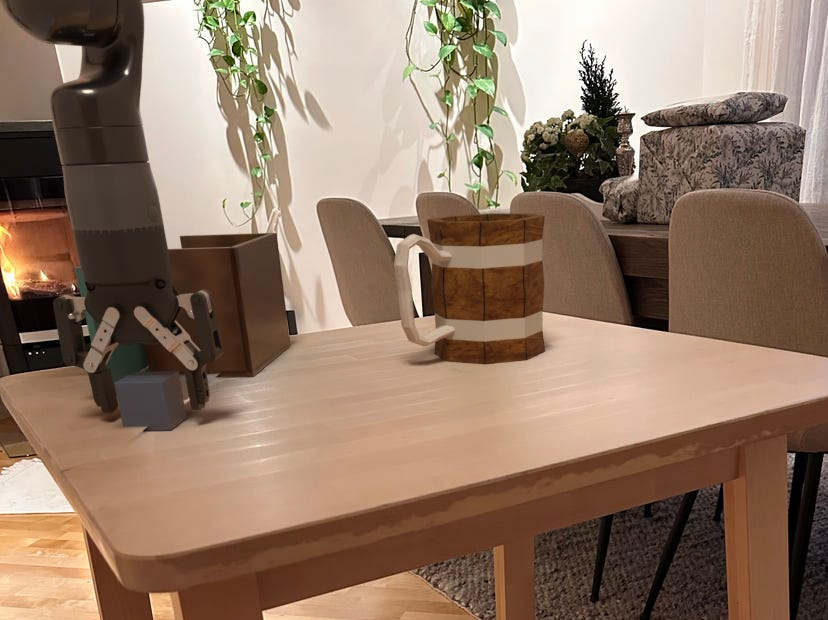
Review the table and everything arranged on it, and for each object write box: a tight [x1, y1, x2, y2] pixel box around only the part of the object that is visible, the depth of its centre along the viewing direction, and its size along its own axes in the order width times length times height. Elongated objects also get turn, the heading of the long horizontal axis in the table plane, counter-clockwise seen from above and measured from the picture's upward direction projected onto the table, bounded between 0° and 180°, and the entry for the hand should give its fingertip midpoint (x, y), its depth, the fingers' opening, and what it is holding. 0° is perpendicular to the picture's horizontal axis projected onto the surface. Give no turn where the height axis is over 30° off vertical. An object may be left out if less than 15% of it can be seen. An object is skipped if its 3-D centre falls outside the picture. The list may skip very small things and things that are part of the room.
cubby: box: [114, 232, 291, 396], centre depth 108 cm, size 14×28×14 cm, turn 177°
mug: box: [393, 212, 546, 365], centre depth 110 cm, size 20×14×15 cm
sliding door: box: [74, 266, 148, 386], centre depth 102 cm, size 2×17×20 cm, turn 177°
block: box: [114, 371, 188, 432], centre depth 89 cm, size 4×4×4 cm
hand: (154, 409), depth 89 cm, fingers open, 8 cm apart
